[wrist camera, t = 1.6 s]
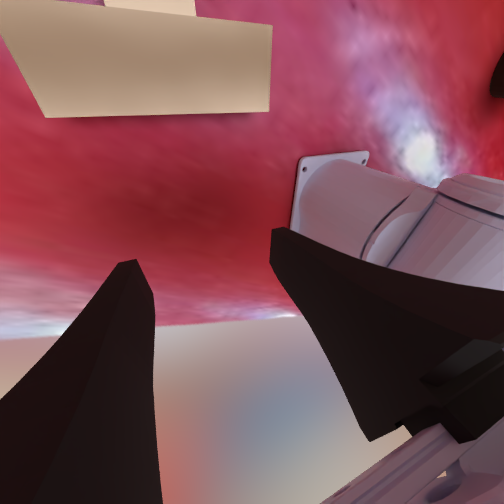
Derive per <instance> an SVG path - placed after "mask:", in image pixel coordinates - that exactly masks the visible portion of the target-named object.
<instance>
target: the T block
mask: <svg viewBox="0 0 504 504" xmlns="http://www.w3.org/2000/svg"><path fill="white" fill-rule="evenodd" d="M104 3H105V6H99V5H90V4H82V3H73V2H64V1H55V0H0V34H1V36H2V38H3V40H4V42H5V43H6V45H7V47H8V49H9V51H10V53H11V55H12V56H13V58H14V60H15V62H16V64H17V66H18V67H19V69H20V71H21V73H22V75H23V77H24V79H25V80H26V82H27V84H28V86H29V88H30V90H31V91H32V93H33V95H34V97H35V99H36V101H37V103H38V104H39V106H40V108H41V110H42V112H43V114H44V115H45V117H46V118H55V117H93V116H130V115H167V114H204V113H241V112H269V96H270V73H271V50H272V27H273V25H266V24H257V23H249V22H240V21H231V20H222V19H213V18H205V17H196V11H195V2H194V0H104Z"/></svg>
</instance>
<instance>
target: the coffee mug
mask: <svg viewBox="0 0 504 504" xmlns="http://www.w3.org/2000/svg"><path fill="white" fill-rule="evenodd" d="M490 94H491V95H492V97H498V98H504V53H503V55H502V56H501V58H500V60H499V62H498V64H497V66H496V69H495V71H494V73H493V76H492V79H491V83H490Z"/></svg>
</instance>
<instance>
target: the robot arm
mask: <svg viewBox="0 0 504 504" xmlns="http://www.w3.org/2000/svg"><path fill="white" fill-rule="evenodd" d="M368 157H369V152H368V151H365V150H363V151H354V152H345V153H335V154H326V155H316V156H307V157H302V158H301V159H300V161H299V165H298V173H297V180H296V187H295V194H294V201H293V209H292V216H291V223H290V229H288V228H285V227H280V228H276V229H272V233H271V247H270V261H269V262H270V265H271V267H272V269H273V271H274V273H275V274H276V276H277V278H278V280H279V281H280V283H281V284H282V286H283V287H284V289H285V290H286V292H287V293H288V294H289V296H290V297H291V299H292V300H293V302H294V303H295V304H296V306H297V307H298V309H299V310H300V311H301V313H302V314H303V316H304V317H305V319H306V320H307V322H308V324H309V325H310V327H311V328H312V331H313V332H314V334H315V336H316V338H317V339H318V341H319V343H320V345H321V347H322V349H323V351H324V353H325V354H326V356H327V358H328V360H329V362H330V364H331V366H332V368H333V370H334V372H335V374H336V376H337V378H338V380H339V382H340V384H341V386H342V388H343V391H344V393H345V395H346V397H347V399H348V402H349V404H350V406H351V408H352V410H353V413H354V415H355V417H356V419H357V422H358V424H359V426H360V428H361V430H362V431H363V433H364V435H365V436H366V438H367V439H368V441H369V442H371V441H373V440H375V439H377V438H379V437H382V436H383V435H386V434H388V433H390V432H392V431H394V430H396V429H398V428H399V427H401V426H402V425H404V426H405V427H406V429H407V430H408V431H409V433H410V434H411V435H412V438H410V439H409V440H408V441H406V442H405V443H404V444H402V445H401V446H400V447H398V448H397V449H395V450H394V451H392V452H391V453H390V454H388V455H387V456H386V457H384V458H383V459H381V460H380V461H379V462H377V463H376V464H374V465H373V466H372V467H370V468H369V469H368V470H366V471H365V472H363V473H362V474H361V475H359V476H358V477H356V478H355V479H354V480H352V481H351V482H349V483H348V484H347V485H345V486H344V487H342V488H341V489H340V490H338V491H337V492H336V493H334V494H333V495H332V496H330V497H329V498H327V499H326V500H324V501H323V502H322V503H320V504H504V181H502V180H498V179H493V178H488V177H483V176H478V175H473V174H466V173H462V174H459V175H457V176H454V177H452V178H446V179H443V180H442V181H441V183H440V184H439V186H438V187H437V188H430V187H427V186H424V185H421V184H418V183H415V182H411V181H408V180H405V179H402V178H399V177H396V176H393V175H390V174H387V173H384V172H381V171H378V170H375V169H372V168H369V167H366V163H367V160H368ZM303 167H305V169H304V170H303V171H302V169H303ZM154 335H155V307H154V297H153V292H152V290H151V288H150V286H149V284H148V282H147V280H146V278H145V276H144V274H143V272H142V270H141V268H140V265H139V263H138V261H137V259H133V260H129V261H124V262H120V263H118V264H117V265H116V267H115V268H114V269H113V271H112V272H111V273H110V275H109V276H108V277H107V279H106V280H105V282H104V283H103V284H102V286H101V287H100V288H99V290H98V291H97V292H96V294H95V295H94V296H93V298H92V299H91V300H90V301H89V303H88V304H87V305H86V307H85V308H84V309H83V310H82V312H81V313H80V314H79V315H78V316H77V318H76V319H75V320H74V321H73V322H72V324H71V325H70V326H69V327H68V328H67V330H66V331H65V332H64V333H63V334H62V336H61V337H60V338H59V339H58V340H57V341H56V342H55V344H54V345H53V346H52V347H51V348H50V349H49V350H48V351H47V352H46V354H45V355H44V356H43V357H42V358H41V359H40V360H39V361H38V362H37V363H36V364H35V365H34V366H33V367H32V368H31V369H30V370H29V371H28V373H27V374H25V376H24V377H23V378H22V379H21V380H20V381H19V382H18V383H17V384H16V385H15V386H14V387H13V388H12V389H11V390H10V391H9V392H8V393H7V394H6V395H4V396H3V398H1V400H0V504H163V500H162V492H161V483H160V472H159V461H158V451H157V438H156V425H155V411H154V395H153V359H154V337H155V336H154ZM444 471H446V475H447V476H444V477H440V478H437V477H438V476H439V475H440V474H441V473H443V472H444Z"/></svg>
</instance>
